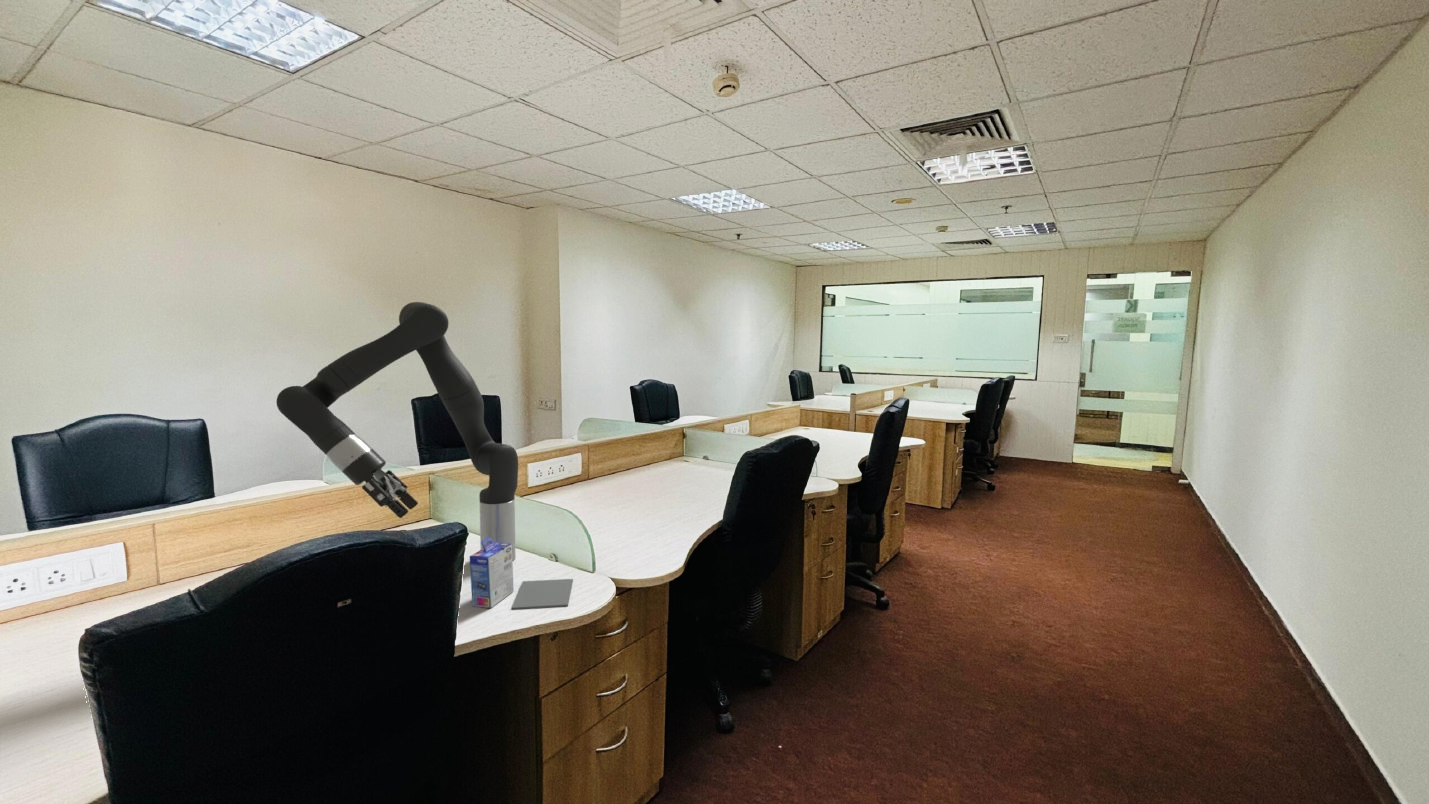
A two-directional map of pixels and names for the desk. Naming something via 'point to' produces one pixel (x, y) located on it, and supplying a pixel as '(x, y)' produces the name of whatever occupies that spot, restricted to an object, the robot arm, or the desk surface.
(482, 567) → the ink cartridge box
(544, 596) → the mat
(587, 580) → the desk surface
